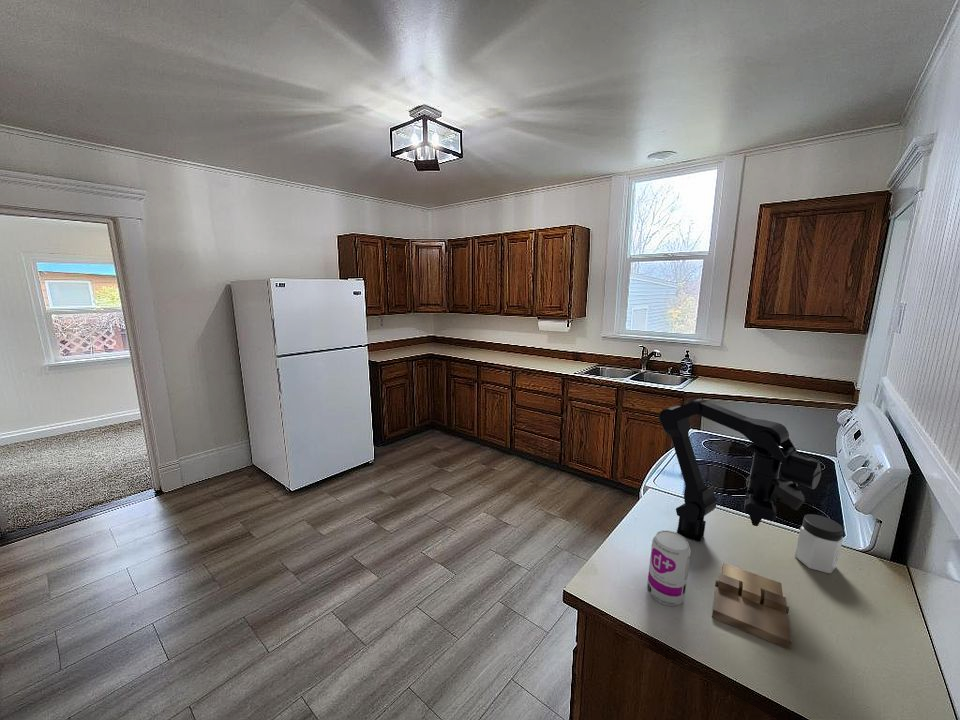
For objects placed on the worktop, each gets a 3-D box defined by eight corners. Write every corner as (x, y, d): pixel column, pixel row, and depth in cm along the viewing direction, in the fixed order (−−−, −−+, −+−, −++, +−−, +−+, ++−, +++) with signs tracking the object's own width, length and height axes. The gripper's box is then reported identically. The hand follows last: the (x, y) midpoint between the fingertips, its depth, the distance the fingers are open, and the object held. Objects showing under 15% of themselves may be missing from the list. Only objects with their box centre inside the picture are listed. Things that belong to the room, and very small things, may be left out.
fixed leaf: (711, 616, 88) (713, 601, 88) (714, 586, 97) (717, 572, 97) (790, 650, 81) (793, 633, 80) (786, 613, 90) (789, 598, 89)
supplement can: (668, 613, 89) (676, 556, 86) (639, 588, 96) (645, 534, 93) (691, 600, 93) (699, 545, 90) (661, 577, 100) (668, 525, 97)
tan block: (719, 595, 94) (721, 581, 94) (720, 576, 101) (723, 562, 100) (781, 620, 88) (784, 604, 87) (778, 597, 94) (781, 583, 94)
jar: (828, 578, 101) (837, 537, 98) (790, 559, 107) (798, 520, 105) (840, 564, 105) (849, 525, 103) (803, 547, 112) (810, 510, 110)
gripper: (808, 497, 87) (796, 558, 91) (802, 466, 102) (791, 519, 105) (749, 482, 94) (739, 539, 97) (751, 454, 109) (742, 505, 112)
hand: (754, 525), depth 103 cm, fingers closed
